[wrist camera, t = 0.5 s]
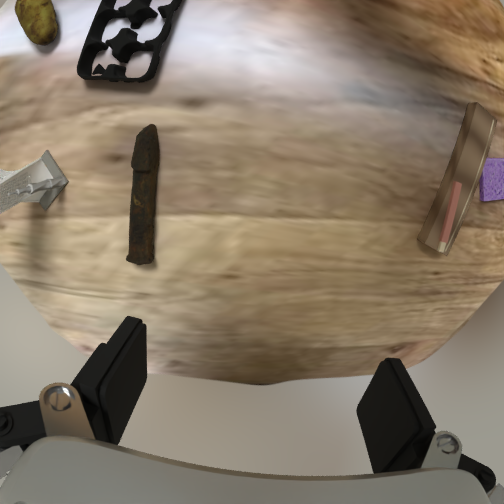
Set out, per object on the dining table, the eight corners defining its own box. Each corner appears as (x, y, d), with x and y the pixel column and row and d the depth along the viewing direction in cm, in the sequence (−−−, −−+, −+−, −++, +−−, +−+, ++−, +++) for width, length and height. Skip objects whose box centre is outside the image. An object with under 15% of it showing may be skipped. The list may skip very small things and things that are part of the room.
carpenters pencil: (453, 180, 36) (456, 181, 35) (459, 183, 36) (461, 183, 35) (436, 250, 39) (438, 251, 38) (441, 251, 39) (444, 252, 38)
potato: (28, 59, 33) (-1, 52, 25) (36, 4, 29) (11, -8, 21) (63, 42, 33) (35, 30, 25) (70, -14, 29) (47, -30, 21)
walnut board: (468, 103, 34) (477, 102, 31) (488, 120, 34) (497, 120, 32) (417, 238, 41) (424, 243, 38) (439, 251, 41) (447, 256, 39)
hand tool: (157, 259, 44) (147, 270, 39) (132, 254, 43) (120, 264, 39) (175, 127, 38) (164, 124, 33) (147, 125, 38) (135, 122, 33)
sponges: (520, 195, 38) (527, 197, 36) (477, 200, 39) (484, 202, 37) (519, 158, 36) (526, 158, 34) (475, 157, 37) (482, 158, 35)
